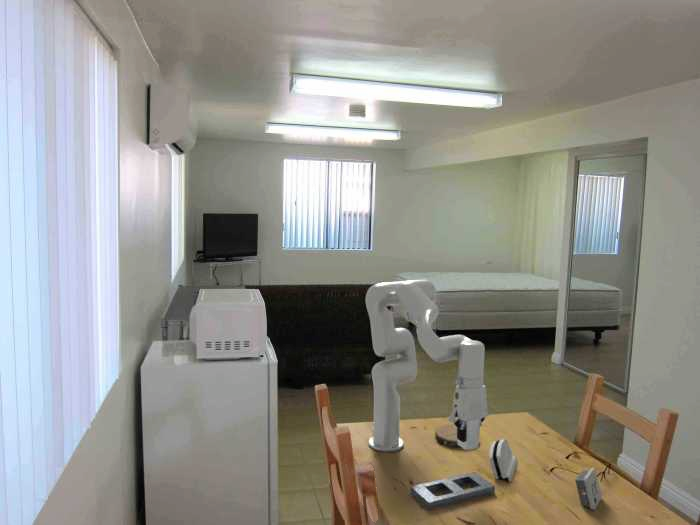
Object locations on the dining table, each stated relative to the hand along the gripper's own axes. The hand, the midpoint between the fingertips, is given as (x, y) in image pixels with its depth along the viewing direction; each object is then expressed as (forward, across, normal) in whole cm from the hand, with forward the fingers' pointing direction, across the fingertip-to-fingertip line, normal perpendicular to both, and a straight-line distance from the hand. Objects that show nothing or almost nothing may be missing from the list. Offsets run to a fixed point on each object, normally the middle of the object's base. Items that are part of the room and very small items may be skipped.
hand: (468, 438), depth 173 cm
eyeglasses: (+17, +43, -5) cm, 47 cm away
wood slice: (+17, +20, +33) cm, 42 cm away
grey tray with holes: (+17, -5, 0) cm, 18 cm away
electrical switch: (+17, +30, -20) cm, 40 cm away
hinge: (+17, +20, +7) cm, 28 cm away
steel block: (+2, 0, 0) cm, 2 cm away
